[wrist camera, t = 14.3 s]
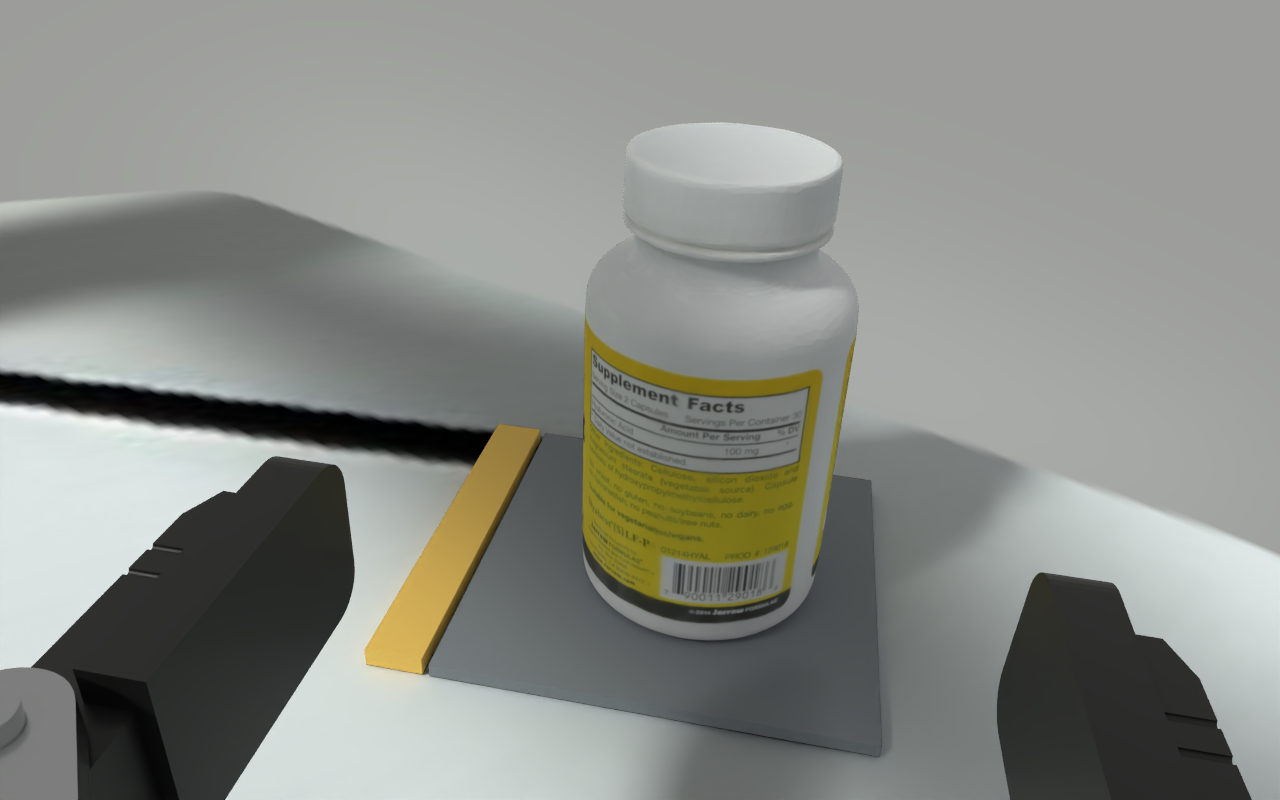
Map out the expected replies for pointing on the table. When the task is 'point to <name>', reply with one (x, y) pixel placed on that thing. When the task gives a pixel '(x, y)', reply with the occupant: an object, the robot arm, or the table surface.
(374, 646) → the mat
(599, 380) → the supplement bottle
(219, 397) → the table surface
